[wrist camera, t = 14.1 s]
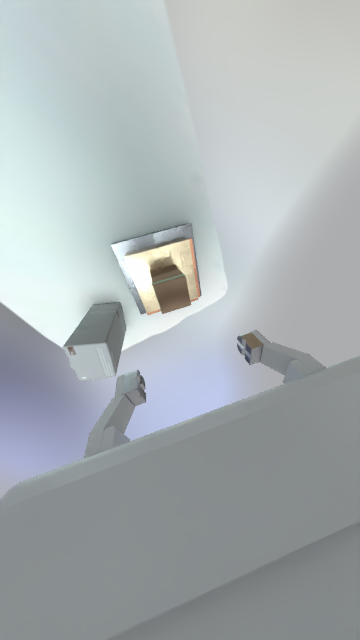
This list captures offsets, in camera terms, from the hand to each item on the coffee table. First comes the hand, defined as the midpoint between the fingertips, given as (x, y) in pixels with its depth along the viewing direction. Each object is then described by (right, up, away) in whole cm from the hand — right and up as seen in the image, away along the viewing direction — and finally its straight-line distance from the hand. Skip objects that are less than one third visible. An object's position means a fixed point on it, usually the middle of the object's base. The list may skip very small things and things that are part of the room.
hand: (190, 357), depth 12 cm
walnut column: (-4, +11, +18) cm, 22 cm away
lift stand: (-5, +14, +23) cm, 28 cm away
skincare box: (-19, +4, +26) cm, 33 cm away
